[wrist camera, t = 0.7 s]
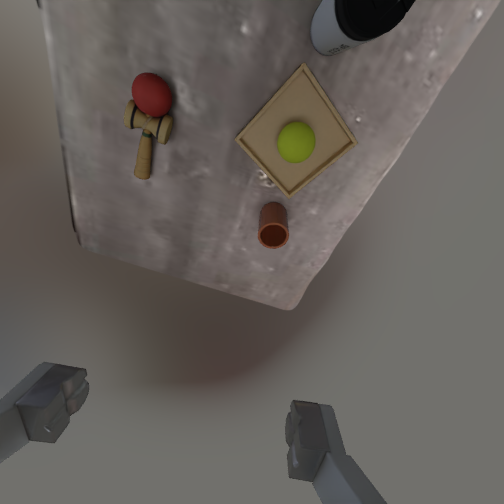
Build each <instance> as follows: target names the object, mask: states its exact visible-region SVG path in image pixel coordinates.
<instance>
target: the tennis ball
mask: <svg viewBox="0 0 504 504" xmlns="http://www.w3.org/2000/svg"><path fill="white" fill-rule="evenodd" d="M315 142H316V139H315V134H314V132H313V130H312V128H311V127H310V126H309V125H307V124H306V123H303V122H292V123H290V124H288V125H287V126H285V127H284V128H283V129H282V131H281V132H280V134H279V136H278V140H277V148H278V152H279V154H280V156H281V157H282V158H283V159H284V160H285V161H287V162H289V163H300V162H303V161H305V160H306V159H308V158H309V157H310V155H311V154H312V152H313V150H314V148H315Z"/></svg>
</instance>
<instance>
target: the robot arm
mask: <svg viewBox="0 0 504 504" xmlns="http://www.w3.org/2000/svg"><path fill="white" fill-rule="evenodd" d="M86 376H87V372H86V369H84V368H78V367H72V366H66V365H61V364H55V363H48V362H43V363H42V364H39V365H38V366H37V367H36V368H35V369H33V370H32V371H31V372H30V373H29V374H28V375H27V376H26V377H25V378H24V379H23V380H21V381H20V382H19V383H18V384H17V385H16V386H15V387H14V388H13V389H12V390H11V391H9V393H7V394H6V395H5V396H4V397H3V398H2V399H1V400H0V463H1V462H3V461H4V460H5V459H7V458H8V457H9V456H11V455H12V454H13V453H15V452H16V451H18V450H19V449H20V448H22V447H23V446H25V445H26V444H27V443H29V440H31V441H39V442H48V443H55V442H56V440H57V439H58V438H59V436H60V435H61V434H62V432H63V431H64V430H65V428H66V427H67V426H68V424H69V421H70V416H71V415H72V414H74V413H75V412H77V411H78V410H79V409H80V408H81V406H82V404H84V402H85V400H86V398H87V395H88V392H89V383H88V382H87V381H86V380H85V379H84V378H85V377H86ZM290 407H291V412H289V413H288V415H287V418H286V427H285V432H286V433H285V434H286V442H287V444H288V445H289V447H290V449H289V451H288V454H287V460H288V472H289V478H293V479H298V480H304V481H309V482H313V483H312V484H313V486H314V488H315V490H316V492H317V494H318V496H319V497H320V500H321V501H322V503H323V504H387V503H386V501H385V500H384V499H383V498H382V496H381V495H380V494H379V492H378V491H377V490H376V488H375V487H374V486H373V484H372V483H371V482H370V481H369V479H368V478H367V477H366V475H365V474H364V473H363V471H362V470H361V469H360V468H359V466H358V465H357V464H356V462H355V461H354V460H353V459H352V457H351V456H349V455H346V452H345V448H344V445H343V441H342V438H341V434H340V431H339V427H338V424H337V420H336V417H335V413H334V410H333V408H332V406H330V405H324V404H318V403H312V402H305V401H297V400H293V401H292V402H291V405H290Z"/></svg>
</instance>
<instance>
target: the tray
mask: <svg viewBox="0 0 504 504" xmlns="http://www.w3.org/2000/svg"><path fill="white" fill-rule="evenodd" d="M292 122H303V123H306V124H307V125H309V126H310V127H311V128H312V130H313V132H314V134H315V139H316V142H315V148H314V150H313V152H312V154H311V155H310V157H309V158H308V159H306V160H305V161H303V162H300V163H289V162H287V161H285V160H284V159H283V158H282V157H281V156H280V154H279V152H278V148H277V140H278V136H279V134H280V132H281V131H282V129H283V128H284V127H285V126H287V125H288V124H290V123H292ZM235 141H236V142H237V143H238V144H239V145H240V146H241V147H242V149H243V150H244V151H245V152H246V153H247V154H248V155H249V156H250V157H251V158H252V159H253V161H254V162H255V163H256V164H257V165H258V166H259V167H260V168H261V169H262V170H263V171H264V172H265V174H266V175H267V176H268V177H269V178H270V179H271V180H272V181H273V182H274V183H275V184H276V186H277V187H278V188H279V189H280V190H281V191H282V192H283V193H284V194H285V195H286V196H287V198H288V199H290V198H291V197H292V196H293V195H294V194H296V193H297V192H298V191H299V190H301V189H302V188H303V187H304V186H306V185H307V184H308V183H309V182H311V181H312V180H313V179H314V178H316V177H317V176H318V175H319V174H321V173H322V172H323V171H324V170H325V169H327V168H328V167H329V166H330V165H332V164H333V163H334V162H335V161H337V160H338V159H339V158H340V157H342V156H343V155H344V154H345V153H347V152H348V151H349V150H350V149H352V148H353V147H354V146H355V145H356V144H358V142H357V141H356V139H355V138H354V136H353V135H352V133H351V132H350V130H349V129H348V127H347V126H346V124H345V123H344V121H343V119H342V118H341V116H340V115H339V113H338V112H337V110H336V109H335V107H334V106H333V104H332V103H331V101H330V100H329V98H328V97H327V95H326V94H325V92H324V91H323V89H322V88H321V86H320V85H319V83H318V82H317V80H316V79H315V77H314V76H313V74H312V73H311V71H310V70H309V68H308V67H307V65H306V64H305V62H304V63H302V64H301V66H300V67H299V68H298V69H297V70H296V71H295V72H294V73H293V74H292V75H291V77H290V78H289V79H288V80H287V81H286V82H285V83H284V84H283V85H282V87H281V88H280V89H279V90H278V91H277V92H276V93H275V94H274V95H273V97H272V98H271V99H270V100H269V101H268V102H267V103H266V104H265V105H264V107H263V108H262V109H261V110H260V111H259V112H258V113H257V114H256V115H255V117H254V118H253V119H252V120H251V121H250V122H249V123H248V124H247V125H246V127H245V128H244V129H243V130H242V131H241V132H240V133H239V134H238V135H237V137H236V138H235Z"/></svg>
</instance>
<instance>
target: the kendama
mask: <svg viewBox="0 0 504 504" xmlns="http://www.w3.org/2000/svg"><path fill="white" fill-rule="evenodd" d="M132 96H133V99H134V100H130V101H129V102H128V104H127V106H126V109H125V114H124V124H125V126H126V127H128V128H130V129H134V128H142V129H143V133H142V137H141V140H140V144H139V149H138V155H137V160H136V166H135V170H134V175H135V176H136V177H137V178H139V179H149V178H150V165H151V153H152V134H153V135H154V136H155V137H156V138H157V140H158V142H159V143H161V144H164V145H165V144H166V143H167V141H168V139H169V136H170V132H171V129H172V124H173V118H172V117H170V116H168V115H166V113H168V111H169V110H170V108H171V105H172V94H171V91H170V88H169V86H168V85H167V83H166V82H165V81H164V80H163V79H162V78H161V77H159V76H157V74H153V73H142V74H140V75H138V76H137V77H136V78H135V80H134V82H133V84H132Z"/></svg>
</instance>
